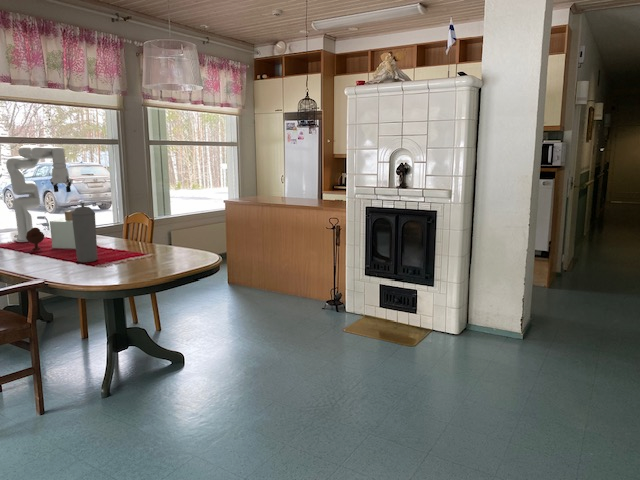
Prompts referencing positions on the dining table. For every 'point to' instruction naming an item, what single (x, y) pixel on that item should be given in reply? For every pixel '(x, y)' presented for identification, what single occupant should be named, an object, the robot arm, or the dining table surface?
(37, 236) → the ice cream bowl
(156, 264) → the dining table surface
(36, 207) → the robot arm
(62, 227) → the cover
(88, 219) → the canister
